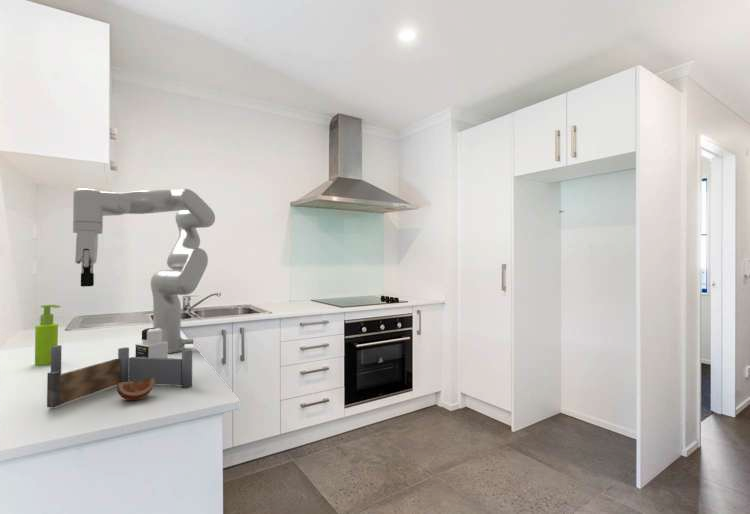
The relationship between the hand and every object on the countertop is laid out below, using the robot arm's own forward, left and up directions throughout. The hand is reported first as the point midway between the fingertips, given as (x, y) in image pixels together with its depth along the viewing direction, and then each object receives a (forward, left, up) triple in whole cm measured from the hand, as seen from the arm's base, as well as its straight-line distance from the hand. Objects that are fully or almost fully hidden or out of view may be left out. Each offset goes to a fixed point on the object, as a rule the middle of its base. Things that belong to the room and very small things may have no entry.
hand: (87, 286), depth 123 cm
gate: (-2, +28, -27) cm, 39 cm away
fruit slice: (-13, +37, -27) cm, 48 cm away
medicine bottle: (-18, -1, -27) cm, 33 cm away
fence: (-9, +19, -27) cm, 35 cm away
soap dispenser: (+12, -20, -27) cm, 36 cm away
